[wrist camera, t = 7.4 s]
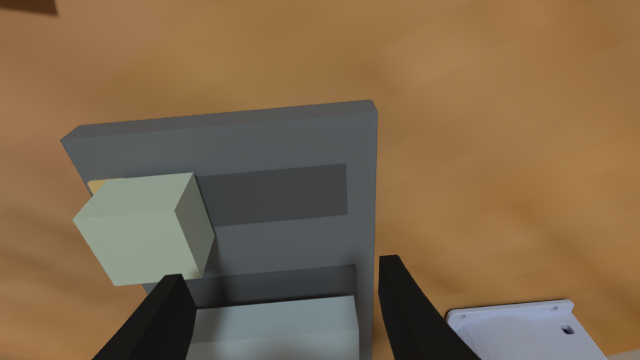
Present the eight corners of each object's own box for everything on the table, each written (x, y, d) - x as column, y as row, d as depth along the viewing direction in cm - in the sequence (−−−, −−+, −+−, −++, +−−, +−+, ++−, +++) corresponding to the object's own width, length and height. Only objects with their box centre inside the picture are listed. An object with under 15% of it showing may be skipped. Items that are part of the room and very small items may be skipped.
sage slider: (193, 172, 15) (174, 210, 13) (214, 235, 18) (201, 278, 15) (106, 180, 15) (72, 219, 13) (139, 242, 18) (114, 286, 15)
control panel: (371, 99, 16) (380, 116, 14) (367, 362, 29) (372, 386, 28) (78, 125, 16) (52, 145, 14) (208, 377, 29) (203, 402, 28)
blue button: (353, 295, 19) (358, 328, 17) (354, 336, 21) (359, 368, 19) (157, 313, 19) (143, 348, 17) (179, 352, 21) (168, 386, 19)
